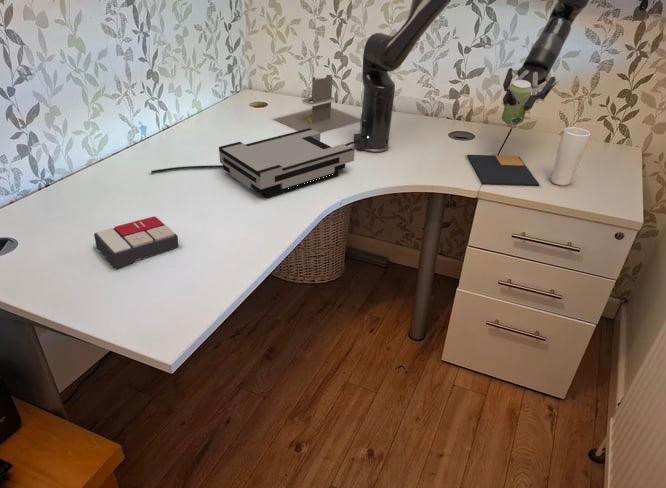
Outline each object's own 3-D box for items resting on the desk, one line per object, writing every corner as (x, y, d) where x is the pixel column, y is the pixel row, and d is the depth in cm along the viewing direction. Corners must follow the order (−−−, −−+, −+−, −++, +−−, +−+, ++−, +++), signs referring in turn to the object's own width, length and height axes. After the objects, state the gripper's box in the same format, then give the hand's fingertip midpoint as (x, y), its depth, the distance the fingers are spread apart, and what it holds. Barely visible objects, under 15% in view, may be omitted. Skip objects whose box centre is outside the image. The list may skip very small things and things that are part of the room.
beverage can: (519, 119, 158) (530, 78, 150) (525, 128, 152) (537, 85, 145) (498, 118, 158) (508, 77, 151) (503, 127, 152) (513, 84, 145)
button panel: (178, 233, 118) (112, 251, 110) (179, 249, 120) (115, 269, 112) (155, 213, 125) (92, 230, 116) (157, 229, 127) (95, 247, 119)
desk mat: (482, 184, 150) (482, 181, 149) (466, 156, 166) (467, 153, 165) (538, 186, 150) (539, 183, 149) (518, 157, 166) (518, 155, 165)
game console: (352, 172, 154) (355, 145, 149) (261, 202, 138) (260, 173, 133) (309, 149, 167) (309, 124, 162) (221, 174, 151) (218, 146, 146)
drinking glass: (571, 179, 154) (589, 128, 145) (573, 189, 149) (591, 137, 140) (547, 175, 155) (563, 125, 146) (547, 185, 150) (564, 133, 141)
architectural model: (273, 119, 189) (273, 76, 180) (325, 105, 202) (327, 65, 193) (309, 135, 177) (311, 90, 168) (362, 120, 190) (366, 78, 182)
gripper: (569, 67, 150) (540, 119, 150) (520, 58, 157) (493, 107, 157) (568, 50, 144) (538, 105, 144) (517, 41, 151) (489, 93, 151)
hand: (515, 106), depth 151 cm, fingers closed on beverage can, 5 cm apart
